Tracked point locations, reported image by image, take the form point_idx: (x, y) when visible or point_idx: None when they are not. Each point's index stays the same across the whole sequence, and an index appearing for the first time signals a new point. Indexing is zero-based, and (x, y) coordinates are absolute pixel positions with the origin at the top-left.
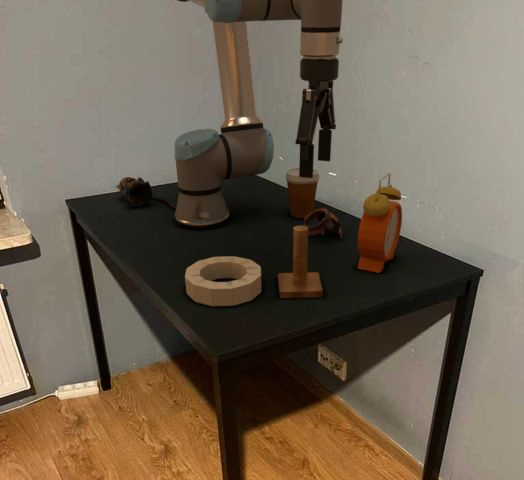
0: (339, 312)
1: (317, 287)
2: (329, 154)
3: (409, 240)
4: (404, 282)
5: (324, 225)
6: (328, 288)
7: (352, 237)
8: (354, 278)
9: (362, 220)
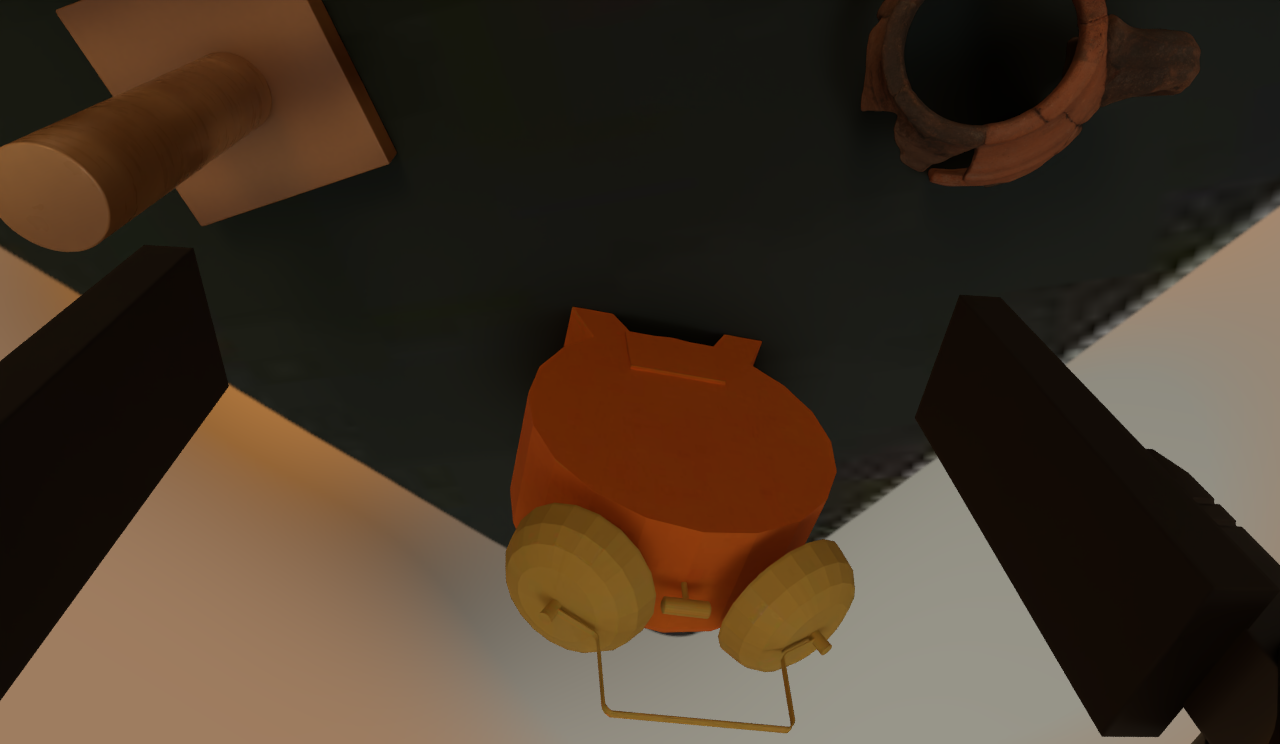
0: None
1: (219, 195)
2: (947, 465)
3: (924, 455)
4: (501, 473)
5: (899, 117)
6: (316, 221)
7: (959, 226)
8: (466, 308)
9: (550, 461)
